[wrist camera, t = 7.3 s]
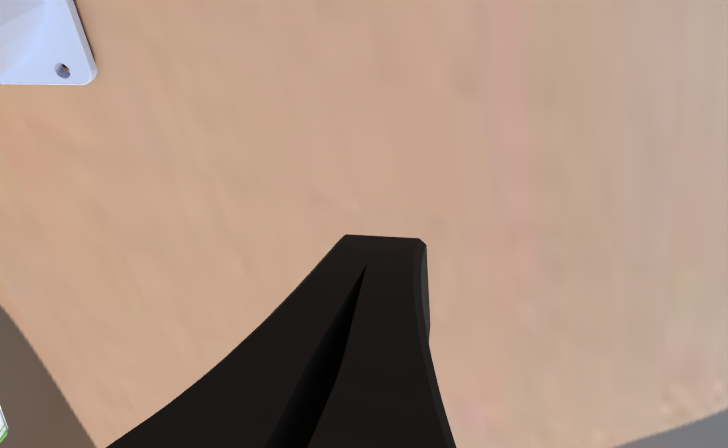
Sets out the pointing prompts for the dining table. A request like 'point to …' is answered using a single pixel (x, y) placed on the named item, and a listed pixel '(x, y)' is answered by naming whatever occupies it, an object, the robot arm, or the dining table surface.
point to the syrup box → (2, 426)
